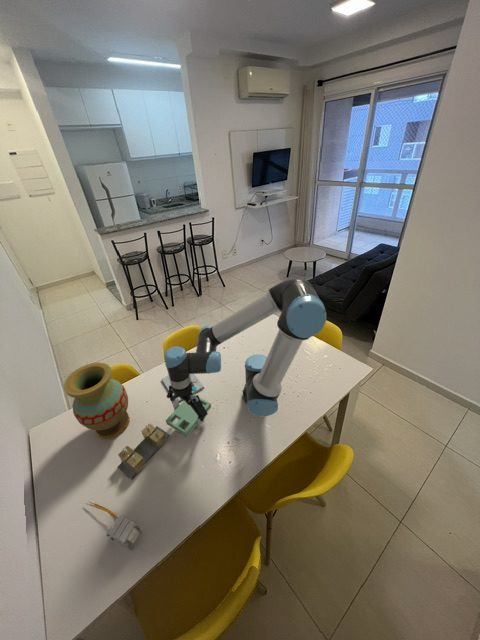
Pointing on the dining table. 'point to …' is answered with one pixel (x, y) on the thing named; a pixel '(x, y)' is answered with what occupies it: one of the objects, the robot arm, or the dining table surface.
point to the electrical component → (122, 529)
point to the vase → (98, 400)
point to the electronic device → (194, 380)
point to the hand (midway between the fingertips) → (189, 416)
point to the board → (185, 417)
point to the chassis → (142, 451)
